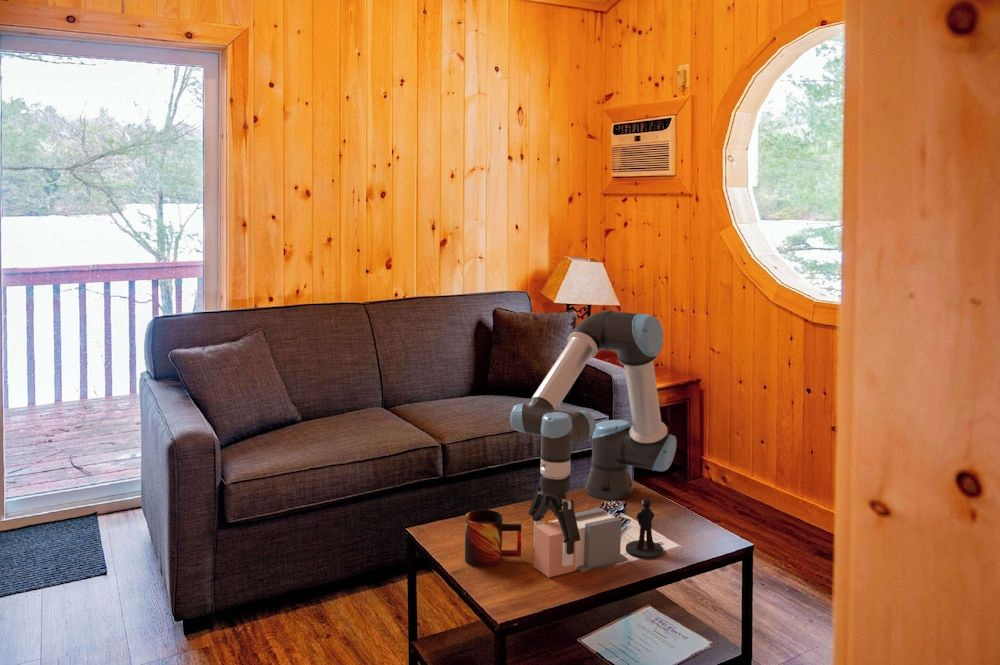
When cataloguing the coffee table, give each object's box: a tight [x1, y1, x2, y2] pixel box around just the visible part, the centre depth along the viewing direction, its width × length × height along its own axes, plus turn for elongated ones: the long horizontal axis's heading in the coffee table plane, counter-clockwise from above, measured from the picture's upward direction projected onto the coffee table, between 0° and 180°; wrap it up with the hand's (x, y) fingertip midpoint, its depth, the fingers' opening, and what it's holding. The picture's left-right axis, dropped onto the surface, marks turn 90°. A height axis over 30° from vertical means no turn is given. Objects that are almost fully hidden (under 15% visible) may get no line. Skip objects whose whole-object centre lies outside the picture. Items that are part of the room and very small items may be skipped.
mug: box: [464, 509, 522, 569], centre depth 219 cm, size 10×14×12 cm
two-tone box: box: [575, 507, 628, 573], centre depth 218 cm, size 16×9×12 cm, turn 119°
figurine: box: [625, 497, 665, 560], centre depth 224 cm, size 10×10×15 cm
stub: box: [533, 520, 576, 578], centre depth 213 cm, size 8×7×11 cm
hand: (552, 554), depth 212 cm, fingers open, 13 cm apart
